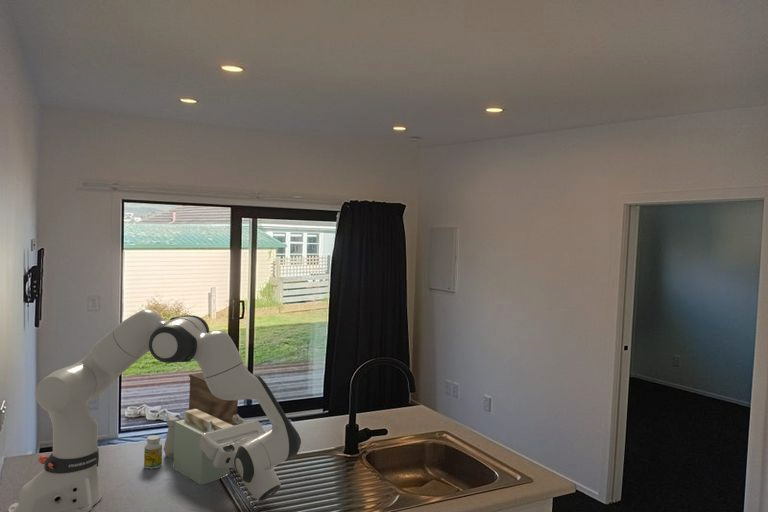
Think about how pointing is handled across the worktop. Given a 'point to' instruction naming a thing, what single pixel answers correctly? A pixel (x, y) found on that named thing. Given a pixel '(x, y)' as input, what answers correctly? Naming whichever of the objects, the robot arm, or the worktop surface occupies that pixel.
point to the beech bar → (204, 420)
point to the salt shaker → (170, 437)
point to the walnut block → (210, 400)
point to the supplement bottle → (153, 452)
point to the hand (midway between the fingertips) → (221, 419)
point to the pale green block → (193, 455)
